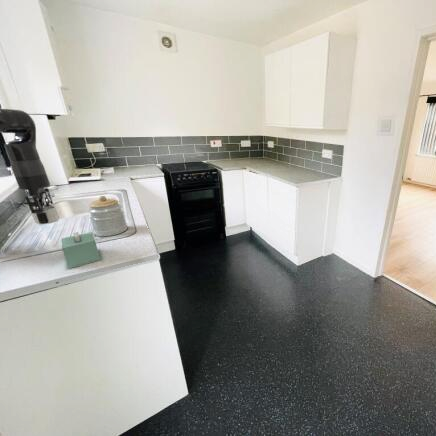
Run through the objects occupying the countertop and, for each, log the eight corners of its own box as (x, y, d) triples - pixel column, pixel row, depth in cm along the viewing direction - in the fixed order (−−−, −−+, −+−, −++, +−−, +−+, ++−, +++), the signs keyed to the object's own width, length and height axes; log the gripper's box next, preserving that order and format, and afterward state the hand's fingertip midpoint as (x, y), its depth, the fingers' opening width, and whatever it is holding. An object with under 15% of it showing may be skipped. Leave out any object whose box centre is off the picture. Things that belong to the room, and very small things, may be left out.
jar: (119, 236, 112) (109, 198, 106) (88, 238, 111) (76, 200, 104) (132, 225, 124) (124, 192, 118) (104, 227, 123) (94, 193, 117)
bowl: (33, 226, 84) (27, 212, 82) (39, 220, 89) (34, 207, 87) (57, 222, 87) (52, 209, 85) (62, 217, 92) (57, 205, 90)
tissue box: (69, 268, 86) (59, 242, 82) (68, 257, 93) (59, 233, 90) (100, 259, 91) (93, 235, 88) (97, 250, 99) (90, 227, 96)
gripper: (23, 171, 86) (40, 216, 92) (5, 178, 75) (25, 228, 80) (51, 170, 90) (66, 213, 95) (38, 175, 78) (55, 224, 84)
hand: (47, 220), depth 88 cm, fingers closed on bowl, 6 cm apart
